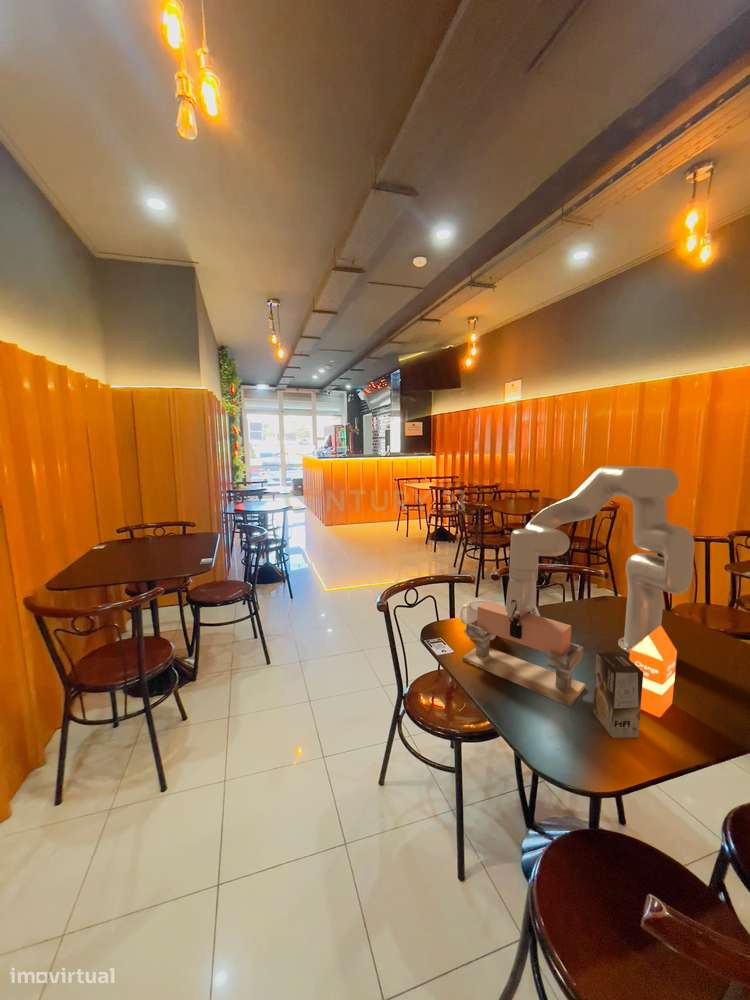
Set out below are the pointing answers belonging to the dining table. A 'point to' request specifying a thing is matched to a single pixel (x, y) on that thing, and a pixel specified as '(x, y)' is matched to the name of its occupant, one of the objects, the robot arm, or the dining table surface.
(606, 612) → the dining table surface
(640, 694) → the coffee box
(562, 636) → the rail
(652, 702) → the orange juice
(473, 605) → the mug
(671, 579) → the robot arm
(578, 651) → the cradle stand
